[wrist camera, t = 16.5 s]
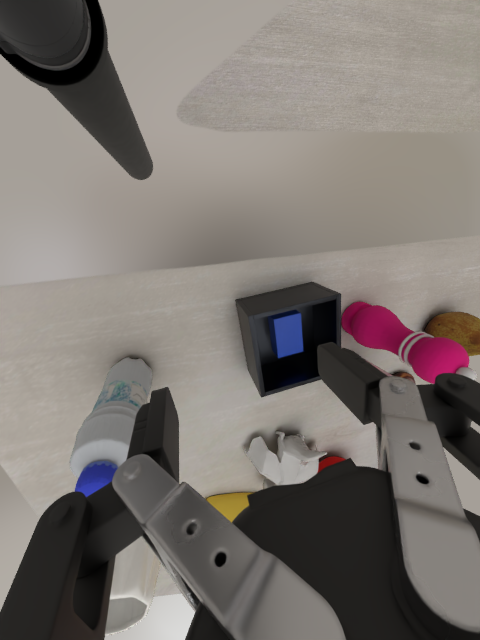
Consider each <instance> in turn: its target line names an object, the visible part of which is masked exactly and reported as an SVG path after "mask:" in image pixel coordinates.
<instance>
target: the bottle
mask: <svg viewBox="0 0 480 640" xmlns="http://www.w3.org/2000/svg"><path fill="white" fill-rule="evenodd" d="M151 384H152V370H151V368H150V367H149V366H147V365H146V364H145V362H144V361H143V360H142V359H137V360H135V359H130V358H129V357H127V358H124V359H122V360H121V361H120V362H118V363H117V364H115V365H113V366H112V368H111V369H110V371H109V373H108V375H107V377H106V380H105V383H104V386H103V389H102V391H101V393H100V395H99V398H98V400H97V402H96V404H95V406H94V408H93V411H92V413H91V414H90V415H89V416H88V417H87V418H86V419H85V420H84V422H83V424H82V426H81V428H80V429H79V431H78V433H77V436H76V441H75V445H74V448H73V451H72V455H71V458H70V468H71V471H72V473H73V474H74V475H75V476H76V477H77V478H78V481H77V484H76V488H75V492H76V491H78V492H82V493H83V494H84V495H85V496H86V497H87V496H89V495H91V494H92V493H94V492H96V491H97V490H99V489H101V488H102V487H104V486H105V485H107V484H108V483H110V482H111V481H112V479H113V476H114V474H115V472H116V470H117V469H118V468H119V466H120V465H121V464H122V463H123V462H125V461H126V459H127V455H128V450H129V445H130V441H131V436H132V432H133V427H134V424H135V418H136V414H137V412H138V411H139V409H140V408H141V406H142V405H143V404H147V398H148V394H149V391H150V388H151Z"/></svg>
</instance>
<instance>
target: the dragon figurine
mask: <svg viewBox="0 0 480 640" xmlns="http://www.w3.org/2000/svg"><path fill="white" fill-rule="evenodd" d="M276 434H278V435H280V436H279V438H278V451H277V455H275V454H274V453H272V452H271V451H269V450H268V448H267V446H266V444H265V442H264V440H263V439H262V437H258V438H255V439H253V440H252V442H251V445H250V448H249V451H248V452H246V450H245V447H244V446H243V448H244V452H245V454H246V456H248V457H249V459H250V460H251V462H252V463H253V465H254V466H255V467H256V469H257V470H258V471H259V473H260V474H262V475H263V476H265V477H267V478H266V479H265V480H264V482H263V489H266V488H269V487H271V486H276V485H289V484H298V483H301V482H303V481H306V480H308V479H310V478H312V477H313V476H314V475H316V474H317V472H318V466H319V458H320V457H322V456H324V455H326V454H327V452H318V446H317V445H316V450H317V451H315V450H309V448H308V447H307V445H306V443H305V442H304V438H305V436H303V435H298V434H296V436H293V435H291V436H286V437H284V436H285V433H283V432H279V431H276ZM301 461H304V462H308V463H307V464H306V465H305V466H304V465H301Z"/></svg>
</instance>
